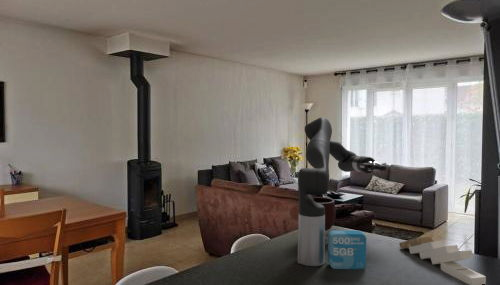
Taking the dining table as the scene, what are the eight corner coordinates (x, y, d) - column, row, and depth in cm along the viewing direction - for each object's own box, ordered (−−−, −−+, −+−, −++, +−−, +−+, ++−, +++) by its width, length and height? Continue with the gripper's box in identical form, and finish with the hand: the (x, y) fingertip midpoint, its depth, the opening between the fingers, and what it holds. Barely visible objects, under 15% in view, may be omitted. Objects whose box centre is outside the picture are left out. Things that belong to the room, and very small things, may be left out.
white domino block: (430, 257, 130) (459, 251, 119) (441, 256, 132) (471, 250, 120) (432, 264, 129) (461, 259, 118) (443, 263, 131) (474, 258, 119)
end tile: (440, 262, 125) (471, 278, 112) (453, 261, 126) (485, 276, 114) (440, 269, 125) (471, 286, 113) (453, 268, 126) (485, 284, 114)
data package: (330, 269, 126) (330, 234, 125) (327, 264, 131) (328, 230, 130) (366, 269, 126) (366, 234, 125) (362, 264, 130) (362, 230, 130)
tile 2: (408, 247, 141) (430, 241, 130) (420, 246, 142) (443, 240, 131) (410, 254, 140) (432, 248, 129) (422, 252, 141) (445, 247, 130)
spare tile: (399, 242, 147) (419, 237, 135) (410, 241, 148) (431, 236, 136) (400, 249, 146) (421, 244, 134) (411, 248, 147) (433, 243, 135)
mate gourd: (342, 240, 156) (342, 193, 155) (321, 247, 147) (321, 197, 146) (313, 232, 168) (313, 188, 167) (292, 238, 159) (292, 192, 158)
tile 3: (419, 252, 135) (445, 246, 124) (430, 251, 137) (457, 245, 126) (421, 259, 134) (447, 253, 123) (432, 258, 136) (459, 252, 125)
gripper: (350, 156, 170) (370, 159, 153) (376, 156, 173) (399, 159, 156) (350, 172, 171) (369, 177, 154) (376, 172, 173) (398, 176, 156)
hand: (384, 168), depth 155 cm, fingers closed
